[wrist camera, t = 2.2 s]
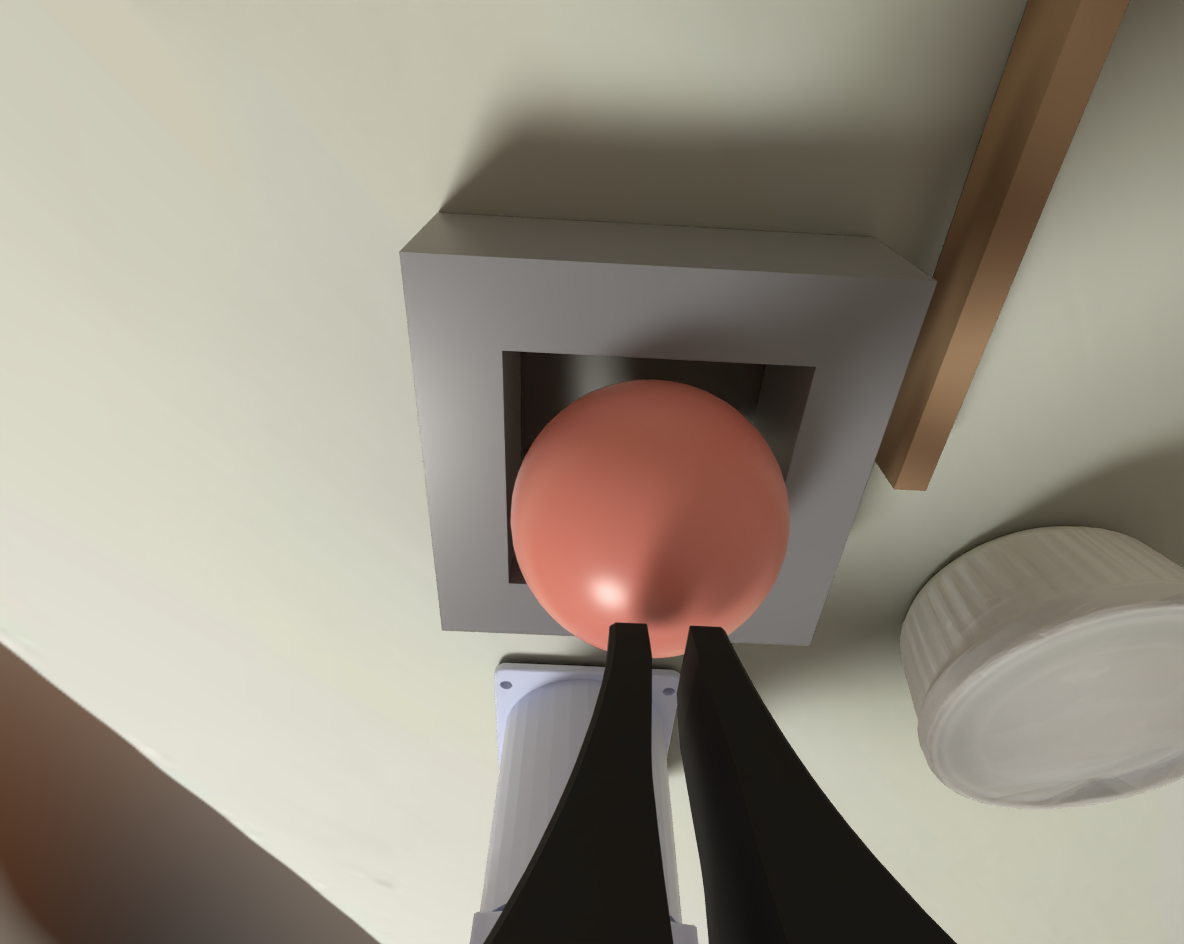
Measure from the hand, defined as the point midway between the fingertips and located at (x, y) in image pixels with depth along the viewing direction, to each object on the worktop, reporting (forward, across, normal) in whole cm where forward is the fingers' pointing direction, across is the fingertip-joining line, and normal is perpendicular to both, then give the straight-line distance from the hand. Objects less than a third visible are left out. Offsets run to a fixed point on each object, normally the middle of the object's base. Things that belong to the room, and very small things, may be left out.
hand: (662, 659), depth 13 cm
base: (+10, 0, 0) cm, 10 cm away
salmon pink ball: (+8, 0, 0) cm, 8 cm away
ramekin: (+10, -16, +8) cm, 21 cm away
